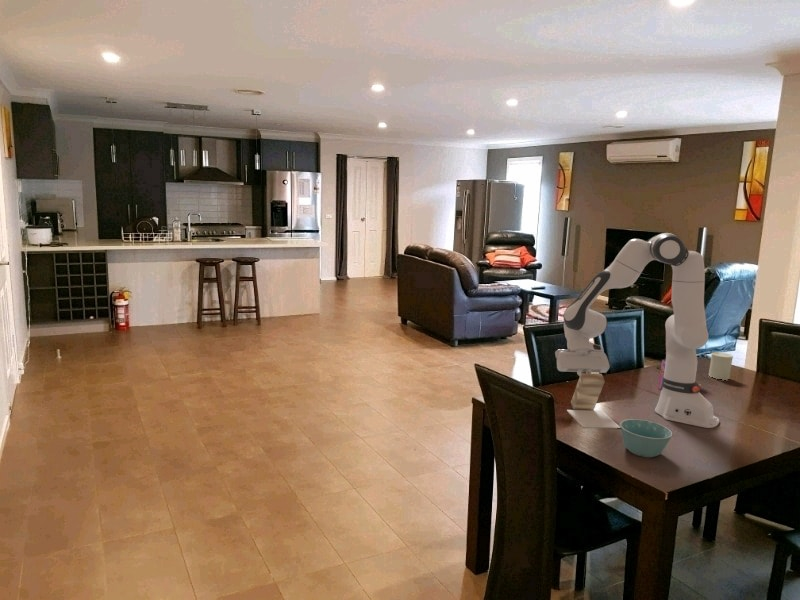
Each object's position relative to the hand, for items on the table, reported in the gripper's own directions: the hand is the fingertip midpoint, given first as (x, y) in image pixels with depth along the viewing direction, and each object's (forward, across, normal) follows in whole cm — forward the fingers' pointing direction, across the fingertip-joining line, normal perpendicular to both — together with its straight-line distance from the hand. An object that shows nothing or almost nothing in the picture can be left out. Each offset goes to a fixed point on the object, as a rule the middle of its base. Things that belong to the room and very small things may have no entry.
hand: (586, 380), depth 227 cm
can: (-27, +87, +44) cm, 101 cm away
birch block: (+7, 0, +9) cm, 11 cm away
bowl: (+35, +6, -18) cm, 40 cm away
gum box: (-16, +56, +33) cm, 67 cm away
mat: (+15, 0, +1) cm, 15 cm away
